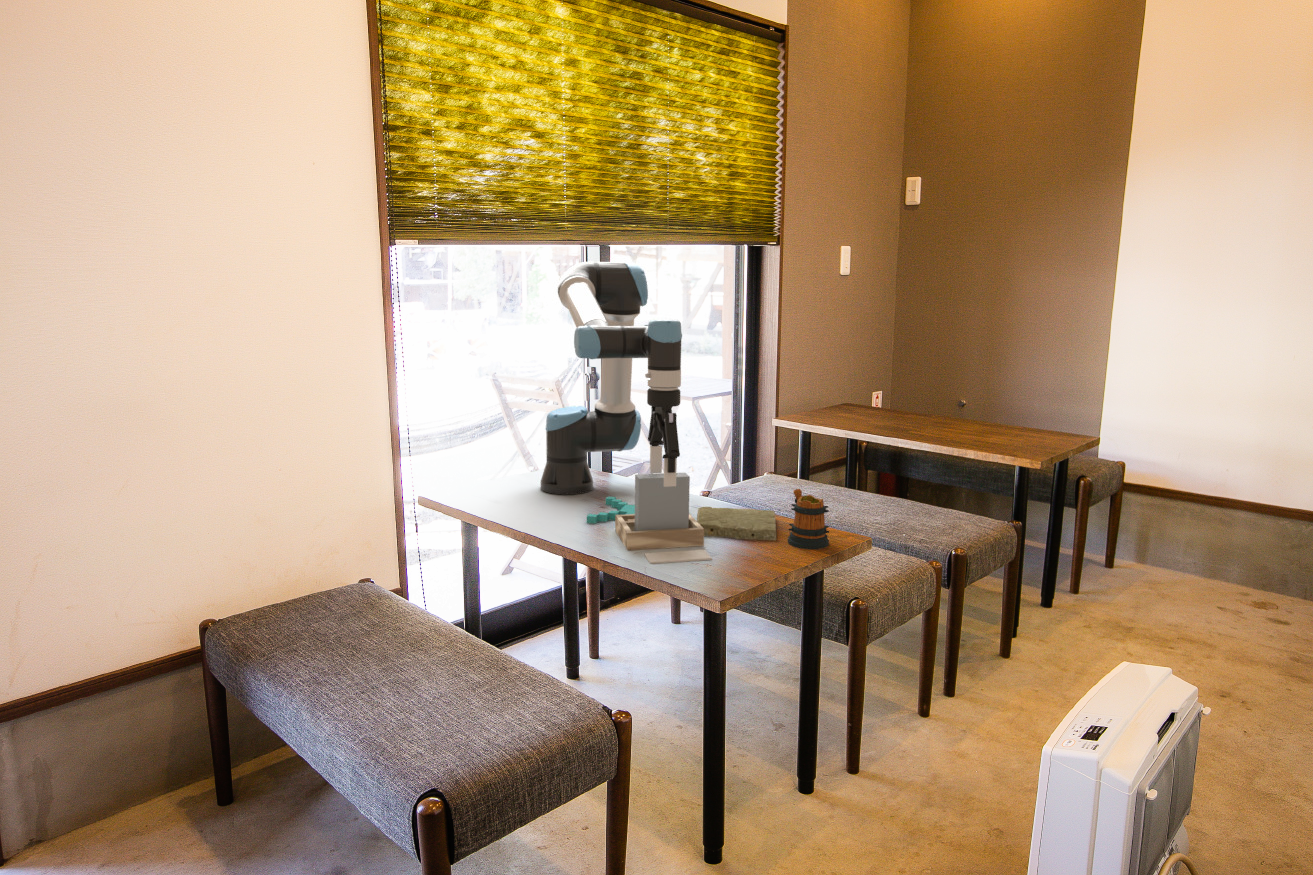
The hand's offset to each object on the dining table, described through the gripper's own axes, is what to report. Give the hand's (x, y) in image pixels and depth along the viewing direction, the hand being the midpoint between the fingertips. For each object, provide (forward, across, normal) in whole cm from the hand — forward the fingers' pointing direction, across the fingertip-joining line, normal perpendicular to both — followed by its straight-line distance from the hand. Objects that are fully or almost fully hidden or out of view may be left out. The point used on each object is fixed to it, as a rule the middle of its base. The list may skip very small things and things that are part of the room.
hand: (662, 479), depth 203 cm
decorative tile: (+16, -8, +21) cm, 27 cm away
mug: (+15, +6, +34) cm, 38 cm away
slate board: (+15, 0, 0) cm, 15 cm away
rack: (+15, -3, 0) cm, 15 cm away
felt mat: (+15, +11, +1) cm, 19 cm away
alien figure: (+16, -23, -2) cm, 28 cm away
